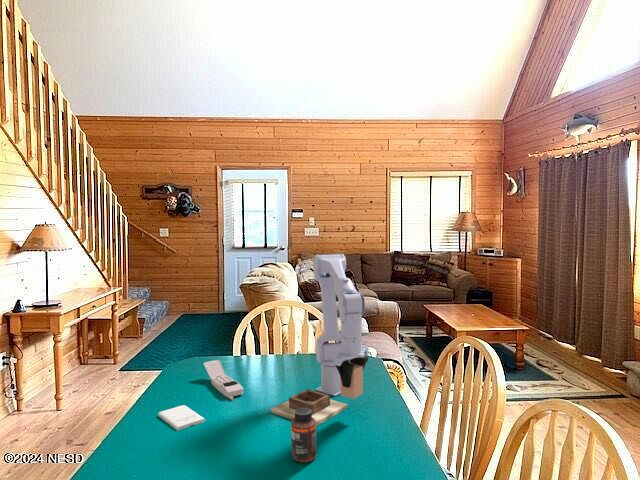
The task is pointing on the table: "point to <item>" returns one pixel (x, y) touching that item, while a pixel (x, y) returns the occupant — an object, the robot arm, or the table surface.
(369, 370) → the table surface
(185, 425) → the external hard drive
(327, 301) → the robot arm
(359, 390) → the square peg
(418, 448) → the table surface
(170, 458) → the table surface
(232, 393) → the mobile phone
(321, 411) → the socket board
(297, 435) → the supplement bottle
